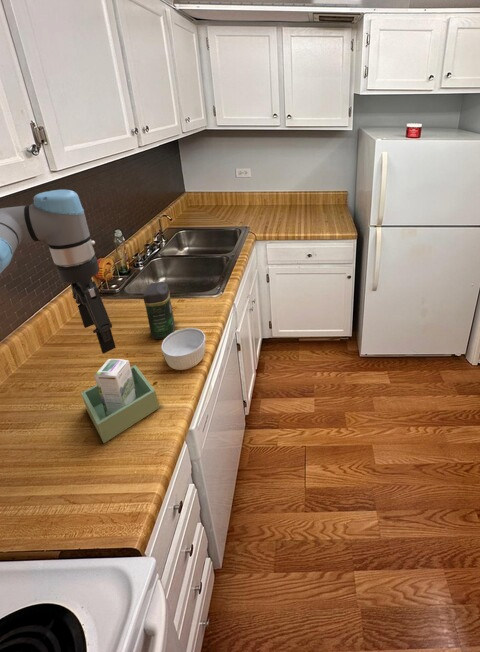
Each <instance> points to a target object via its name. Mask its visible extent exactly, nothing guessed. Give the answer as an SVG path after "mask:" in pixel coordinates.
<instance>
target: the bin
mask: <svg viewBox="0 0 480 652" xmlns="http://www.w3.org/2000/svg"><path fill="white" fill-rule="evenodd" d="M130 368H131V372H132V376H133V380H134V385H135V389H136V393H137V397H138V399H136V400H134V401H133V402H131V403H129V404H128V405H126V406H124V407H123V408H121V409H119V410H117V411H116V412H114V413H112V414H111V415H109V416H106V415H105V411H104V408H103V404H102V401H101V398H100V394H99V391H98V387H97V384H95V385H93V386H91V387H89V388H88V389H85V390H84V391H81V392H80V394H81V397H82V400H83V403H84V406H85V409H86V411H87V414H88V415H89V418H90V420H91V421H92V423H93V426H94V428H95V429H96V431H97V433H98V435H99V437H100V439H101V441H102V443H103V444H105V443H107V442H109V441H110V440H112V439H113V438H115V437H116V436H118V435H120V434H121V433H122V432H125V431H126V430H127V429H130V427H132V426H133V425H135V424H137V423H139V422H140V421H141V420H143V419H144V418H146V417H148V416H149V415H151V414H152V413H154V412H156V411H157V410H159V409H160V405H159V400H158V397H157V396H158V395H157V391H156V390H155V388H154V387H153V386H152V384H151V383H150V382H149V380H148V379H147V378H146V377H145V375H144V374H143V373H142V371H141V370H140V369H139V368H138V366H137V365H136V364H134V365H132V366H130Z"/></svg>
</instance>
